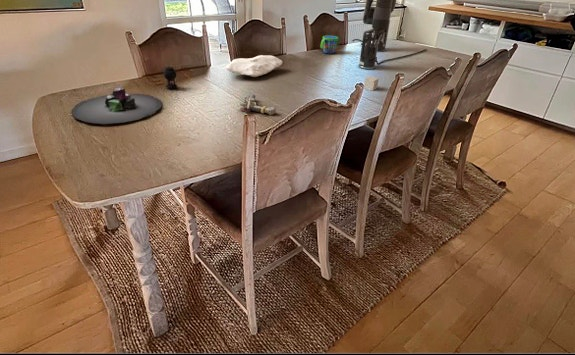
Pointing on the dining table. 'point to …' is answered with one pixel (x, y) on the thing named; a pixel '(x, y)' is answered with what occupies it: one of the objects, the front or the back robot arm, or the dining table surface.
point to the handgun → (255, 106)
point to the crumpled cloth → (254, 65)
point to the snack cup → (329, 44)
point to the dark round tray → (116, 108)
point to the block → (371, 83)
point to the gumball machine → (170, 77)
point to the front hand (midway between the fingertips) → (375, 53)
